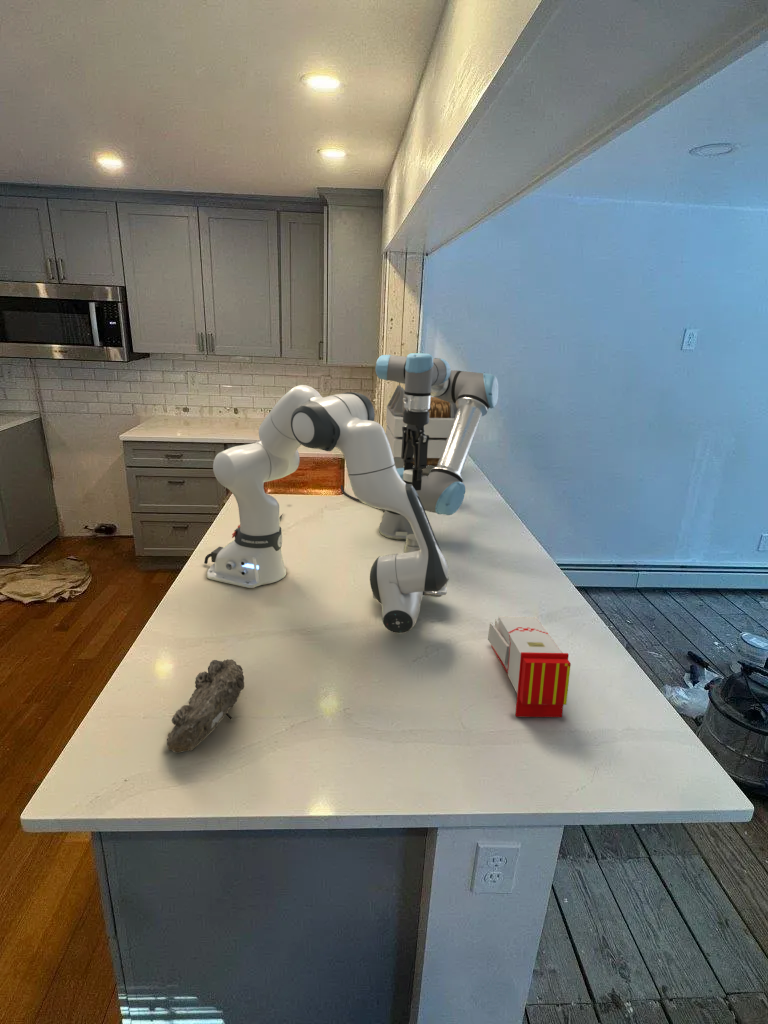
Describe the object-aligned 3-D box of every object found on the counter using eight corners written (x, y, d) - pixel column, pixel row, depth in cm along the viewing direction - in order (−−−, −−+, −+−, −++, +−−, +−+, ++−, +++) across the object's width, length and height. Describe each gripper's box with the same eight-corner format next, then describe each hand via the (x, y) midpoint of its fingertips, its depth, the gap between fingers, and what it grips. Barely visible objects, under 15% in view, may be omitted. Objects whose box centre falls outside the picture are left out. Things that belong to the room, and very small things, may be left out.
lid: (401, 476, 171) (402, 469, 171) (420, 476, 172) (420, 469, 171) (404, 482, 166) (404, 474, 165) (422, 482, 167) (423, 474, 166)
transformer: (382, 463, 289) (386, 382, 275) (445, 464, 293) (451, 384, 279) (390, 482, 257) (394, 392, 243) (460, 483, 261) (468, 394, 247)
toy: (534, 602, 136) (579, 659, 107) (529, 653, 139) (572, 723, 110) (484, 601, 136) (516, 658, 107) (480, 652, 139) (510, 722, 109)
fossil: (192, 660, 117) (244, 628, 112) (224, 691, 120) (276, 661, 115) (142, 746, 98) (202, 712, 93) (182, 779, 101) (242, 748, 96)
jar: (417, 586, 163) (421, 533, 157) (421, 594, 158) (424, 540, 152) (400, 587, 162) (403, 533, 156) (403, 595, 157) (406, 540, 152)
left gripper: (447, 584, 143) (450, 562, 156) (367, 576, 146) (377, 554, 159) (445, 606, 145) (448, 582, 158) (367, 597, 148) (376, 575, 161)
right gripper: (392, 404, 169) (388, 479, 177) (418, 416, 153) (413, 497, 161) (415, 403, 171) (410, 477, 179) (443, 415, 155) (437, 495, 163)
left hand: (412, 568), depth 159 cm, fingers closed on jar, 5 cm apart
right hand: (411, 486), depth 170 cm, fingers closed on lid, 5 cm apart
